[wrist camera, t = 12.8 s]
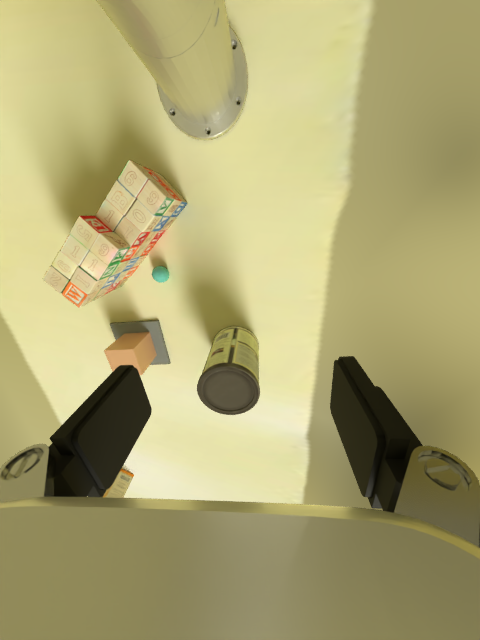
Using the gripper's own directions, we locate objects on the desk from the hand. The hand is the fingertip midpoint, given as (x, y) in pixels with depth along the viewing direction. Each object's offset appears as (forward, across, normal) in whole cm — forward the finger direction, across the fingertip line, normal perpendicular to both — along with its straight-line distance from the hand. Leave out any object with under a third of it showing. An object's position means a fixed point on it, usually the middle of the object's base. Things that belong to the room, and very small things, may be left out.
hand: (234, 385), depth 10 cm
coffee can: (+34, +5, +18) cm, 38 cm away
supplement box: (+34, +48, +66) cm, 88 cm away
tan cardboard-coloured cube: (+33, +26, +16) cm, 45 cm away
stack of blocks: (+34, +20, -6) cm, 40 cm away
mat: (+33, +26, +16) cm, 45 cm away
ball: (+31, +16, 0) cm, 35 cm away
